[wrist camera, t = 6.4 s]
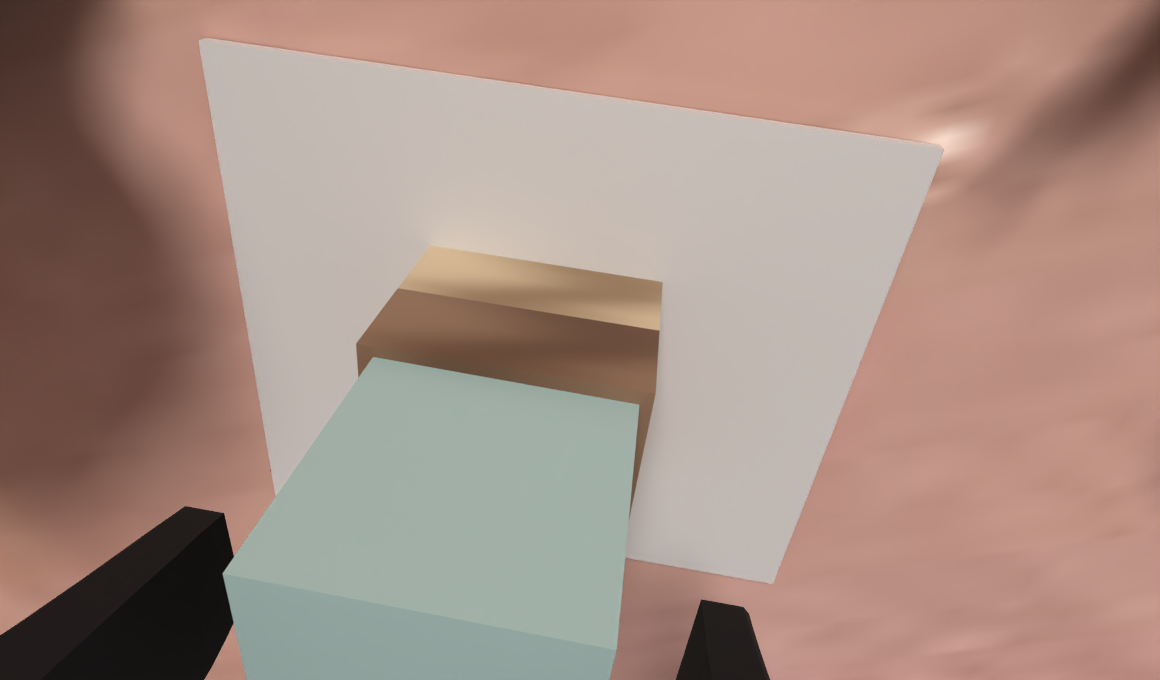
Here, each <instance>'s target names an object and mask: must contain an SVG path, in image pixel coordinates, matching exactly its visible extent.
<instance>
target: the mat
mask: <svg viewBox="0 0 1160 680" xmlns="http://www.w3.org/2000/svg"><path fill="white" fill-rule="evenodd" d="M198 41H199V47H200V53H201V59H202V65H203V70H204V76H205V82H206V88H207V94H208V100H209V106H210V112H211V118H212V124H213V130H214V136H215V141H216V147H217V153H218V159H219V165H220V171H221V177H222V183H223V189H224V195H225V201H226V206H227V212H228V218H229V224H230V230H231V236H232V242H233V248H234V254H235V260H236V266H237V272H238V277H239V283H240V289H241V295H242V301H243V307H244V313H245V319H246V325H247V331H248V337H249V343H250V348H251V354H252V360H253V366H254V372H255V378H256V384H257V390H258V396H259V402H260V408H261V414H262V419H263V425H264V431H265V437H266V443H267V449H268V455H269V461H270V467H271V473H272V479H273V485H274V490H275V495H277V494H278V493H279V491H280V490H281V489H282V487H283V486H284V484H285V483H286V481H287V480H288V479H289V477H290V476H291V474H292V473H293V471H294V470H295V468H296V467H297V466H298V464H299V463H300V461H301V460H302V458H303V457H304V455H305V454H306V453H307V451H308V450H309V448H310V447H311V445H312V444H313V443H314V441H315V440H316V438H317V437H318V435H319V434H320V432H321V431H322V430H323V428H324V427H325V425H326V424H327V422H328V421H329V419H330V418H331V417H332V415H333V414H334V412H335V411H336V409H337V408H338V407H339V405H340V404H341V402H342V401H343V399H344V398H345V396H346V395H347V394H348V392H349V391H350V389H351V388H352V386H353V385H354V383H355V382H356V381H357V379H358V366H357V352H356V343H357V342H358V340H359V339H360V338H361V336H362V335H363V334H364V332H365V331H366V330H367V328H368V327H369V326H370V324H371V323H372V322H373V320H374V319H375V318H376V316H377V315H378V314H379V312H380V311H381V310H382V309H383V307H384V306H385V305H386V303H387V302H388V301H389V299H390V298H391V297H392V295H393V294H394V293H395V291H396V290H397V289H398V287H399V286H400V285H401V283H402V282H403V281H404V279H405V278H406V277H407V275H408V274H409V273H410V271H411V270H412V269H413V267H414V266H415V265H416V263H417V262H418V261H419V259H420V258H421V257H422V255H423V254H424V253H425V251H426V250H427V249H428V248H429V246H430V245H432V246H439V247H445V248H451V249H458V250H464V251H470V252H476V253H483V254H489V255H495V256H502V257H508V258H514V259H521V260H527V261H533V262H539V263H546V264H552V265H558V266H565V267H571V268H577V269H584V270H590V271H596V272H603V273H609V274H615V275H621V276H628V277H634V278H640V279H647V280H653V281H659V282H663V283H662V299H661V316H660V332H659V348H658V364H657V380H656V394H655V399H654V404H653V409H652V413H651V418H650V423H649V428H648V432H647V437H646V442H645V446H644V451H643V456H642V461H641V465H640V470H639V475H638V480H637V484H636V489H635V494H634V499H633V503H632V508H631V513H630V518H629V523H628V534H627V544H626V555H625V558H629V559H635V560H641V561H646V562H652V563H657V564H663V565H669V566H674V567H680V568H685V569H691V570H697V571H702V572H708V573H713V574H719V575H725V576H730V577H736V578H741V579H747V580H753V581H758V582H764V583H769V584H773V582H774V579H775V577H776V574H777V572H778V569H779V567H780V564H781V562H782V559H783V557H784V554H785V551H786V549H787V546H788V544H789V541H790V539H791V536H792V534H793V531H794V529H795V526H796V524H797V521H798V519H799V516H800V514H801V511H802V508H803V506H804V503H805V501H806V498H807V496H808V493H809V491H810V488H811V486H812V483H813V481H814V478H815V476H816V473H817V470H818V468H819V465H820V463H821V460H822V458H823V455H824V453H825V450H826V448H827V445H828V443H829V440H830V438H831V435H832V432H833V430H834V427H835V425H836V422H837V420H838V417H839V415H840V412H841V410H842V407H843V405H844V402H845V400H846V397H847V395H848V392H849V389H850V387H851V384H852V382H853V379H854V377H855V374H856V372H857V369H858V367H859V364H860V362H861V359H862V357H863V354H864V351H865V349H866V346H867V344H868V341H869V339H870V336H871V334H872V331H873V329H874V326H875V324H876V321H877V319H878V316H879V313H880V311H881V308H882V306H883V303H884V301H885V298H886V296H887V293H888V291H889V288H890V286H891V283H892V281H893V278H894V276H895V273H896V270H897V268H898V265H899V263H900V260H901V258H902V255H903V253H904V250H905V248H906V245H907V243H908V240H909V238H910V235H911V232H912V230H913V227H914V225H915V222H916V220H917V217H918V215H919V212H920V210H921V207H922V205H923V202H924V200H925V197H926V194H927V192H928V189H929V187H930V184H931V182H932V179H933V177H934V174H935V172H936V169H937V167H938V164H939V162H940V159H941V156H942V154H943V151H944V149H943V148H942V147H941V146H940V145H936V144H930V143H923V142H916V141H909V140H902V139H895V138H889V137H882V136H875V135H868V134H861V133H854V132H848V131H841V130H834V129H827V128H820V127H813V126H807V125H800V124H793V123H786V122H779V121H772V120H765V119H759V118H752V117H745V116H738V115H731V114H724V113H718V112H711V111H704V110H697V109H690V108H683V107H677V106H670V105H663V104H656V103H649V102H642V101H636V100H629V99H622V98H615V97H608V96H601V95H594V94H588V93H581V92H574V91H567V90H560V89H553V88H547V87H540V86H533V85H526V84H519V83H512V82H506V81H499V80H492V79H485V78H478V77H471V76H465V75H458V74H451V73H444V72H437V71H430V70H424V69H417V68H410V67H403V66H396V65H389V64H382V63H376V62H369V61H362V60H355V59H348V58H341V57H335V56H328V55H321V54H314V53H307V52H300V51H294V50H287V49H280V48H273V47H266V46H259V45H253V44H246V43H239V42H232V41H225V40H218V39H211V38H205V39H202V40H198Z"/></svg>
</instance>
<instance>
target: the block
mask: <svg viewBox="0 0 1160 680" xmlns="http://www.w3.org/2000/svg"><path fill="white" fill-rule="evenodd" d="M638 416H639V405H638V404H633V403H627V402H621V401H616V400H610V399H605V398H599V397H594V396H588V395H582V394H577V393H571V392H566V391H560V390H555V389H549V388H543V387H538V386H532V385H527V384H521V383H516V382H510V381H504V380H499V379H493V378H488V377H482V376H477V375H471V374H465V373H460V372H454V371H449V370H443V369H438V368H432V367H426V366H421V365H415V364H410V363H404V362H399V361H393V360H387V359H382V358H376V357H373V358H372V359H371V360H370V362H369V363H368V365H367V366H366V368H365V369H364V371H363V372H362V373H361V375H360V376H359V378H358V379H357V381H356V382H355V383H354V385H353V386H352V388H351V389H350V391H349V392H348V394H347V395H346V396H345V398H344V399H343V401H342V402H341V404H340V405H339V407H338V408H337V409H336V411H335V412H334V414H333V415H332V417H331V418H330V419H329V421H328V422H327V424H326V425H325V427H324V428H323V430H322V431H321V432H320V434H319V435H318V437H317V438H316V440H315V441H314V443H313V444H312V445H311V447H310V448H309V450H308V451H307V453H306V454H305V455H304V457H303V458H302V460H301V461H300V463H299V464H298V466H297V467H296V468H295V470H294V471H293V473H292V474H291V476H290V477H289V479H288V480H287V481H286V483H285V484H284V486H283V487H282V489H281V490H280V491H279V493H278V494H277V496H276V497H275V499H274V500H273V502H272V503H271V504H270V506H269V507H268V509H267V510H266V512H265V513H264V515H263V516H262V517H261V519H260V520H259V522H258V523H257V525H256V526H255V528H254V529H253V530H252V532H251V533H250V535H249V536H248V538H247V539H246V540H245V542H244V543H243V545H242V546H241V548H240V549H239V551H238V552H237V553H236V555H235V556H234V558H233V559H232V561H231V562H230V564H229V565H228V566H227V568H226V569H225V571H224V572H223V578H224V582H225V586H226V591H227V595H228V600H229V604H230V609H231V613H232V618H233V622H234V626H235V631H236V635H237V640H238V644H239V649H240V653H241V657H242V662H243V666H244V671H245V675H246V680H609V678H610V674H611V670H612V666H613V662H614V659H615V655H616V651H617V641H618V630H619V620H620V609H621V598H622V587H623V577H624V566H625V555H626V544H627V534H628V523H629V512H630V502H631V491H632V480H633V469H634V459H635V448H636V437H637V426H638Z"/></svg>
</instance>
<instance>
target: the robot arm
mask: <svg viewBox="0 0 1160 680" xmlns="http://www.w3.org/2000/svg"><path fill="white" fill-rule="evenodd" d="M233 558H234V555H233V551H232V547H231V542H230V538H229V533H228V529H227V525H226V520H225V516H224V513H220V512H214V511H209V510H203V509H197V508H192V507H186V506H185V507H184V508H182V509H181V510H179V511H178V512H176V513H175V514H173V515H172V516H171V517H169V518H168V519H166V520H165V521H163V522H162V523H160V524H159V525H158V526H156V527H155V528H153V529H152V530H151V531H149V532H148V533H146V534H145V535H144V536H142V537H141V538H139V539H138V540H137V541H135V542H134V543H132V544H131V545H130V546H128V547H127V548H125V549H124V550H123V551H121V552H120V553H118V554H117V555H116V556H114V557H113V558H111V559H110V560H109V561H107V562H106V563H104V564H103V565H102V566H100V567H99V568H97V569H96V570H95V571H93V572H92V573H90V574H89V575H87V576H86V577H85V578H83V579H82V580H80V581H79V582H78V583H76V584H75V585H73V586H72V587H70V588H69V589H67V590H66V591H65V592H63V593H62V594H60V595H59V596H57V597H56V598H54V599H53V600H52V601H50V602H49V603H47V604H46V605H44V606H43V607H41V608H40V609H39V610H37V611H36V612H34V613H33V614H31V615H30V616H28V617H27V618H26V619H24V620H23V621H21V622H20V623H18V624H17V625H15V626H14V627H12V628H11V629H9V630H8V631H6V632H5V633H3V634H2V635H0V680H204V679H205V677H206V676H207V674H208V672H209V671H210V669H211V667H212V665H213V663H214V661H215V659H216V657H217V656H218V654H219V652H220V650H221V648H222V646H223V644H224V642H225V640H226V638H227V636H228V634H229V631H230V629H231V627H232V625H233V623H234V622H233V618H232V613H231V609H230V604H229V600H228V595H227V591H226V586H225V582H224V578H223V572H224V571H225V569H226V568H227V566H228V565H229V564H230V562H231V561H232V559H233ZM676 680H770V678H769V676H768V673H767V670H766V667H765V664H764V661H763V658H762V655H761V652H760V649H759V646H758V643H757V640H756V636H755V633H754V630H753V627H752V623H751V620H750V616H749V613H748V612H747V611H746V610H745V608H744V607H740V606H735V605H729V604H723V603H718V602H712V601H707V600H701V602H700V605H699V608H698V612H697V615H696V618H695V621H694V624H693V627H692V630H691V634H690V637H689V640H688V643H687V646H686V649H685V653H684V656H683V659H682V662H681V665H680V668H679V671H678V675H677V678H676Z"/></svg>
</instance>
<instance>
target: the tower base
mask: <svg viewBox="0 0 1160 680" xmlns="http://www.w3.org/2000/svg"><path fill="white" fill-rule="evenodd" d="M662 283H663V282H659V281H653V280H647V279H640V278H634V277H628V276H621V275H615V274H609V273H603V272H596V271H590V270H584V269H577V268H571V267H565V266H558V265H552V264H546V263H539V262H533V261H527V260H521V259H514V258H508V257H502V256H495V255H489V254H483V253H476V252H470V251H464V250H458V249H451V248H445V247H439V246H432V245H430V246H429V248H428V249H427V250H426V251H425V253H424V254H423V255H422V257H421V258H420V259H419V261H418V262H417V263H416V265H415V266H414V267H413V269H412V270H411V271H410V273H409V274H408V275H407V277H406V278H405V279H404V281H403V282H402V283H401V285H400V286H399V287H398V288H400V289H406V290H412V291H418V292H424V293H430V294H437V295H443V296H449V297H455V298H461V299H467V300H474V301H480V302H486V303H492V304H498V305H504V306H511V307H517V308H523V309H529V310H535V311H542V312H548V313H554V314H560V315H566V316H572V317H578V318H585V319H591V320H597V321H603V322H609V323H616V324H622V325H628V326H634V327H640V328H646V329H652V330H659V331H660V316H661V299H662Z"/></svg>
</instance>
